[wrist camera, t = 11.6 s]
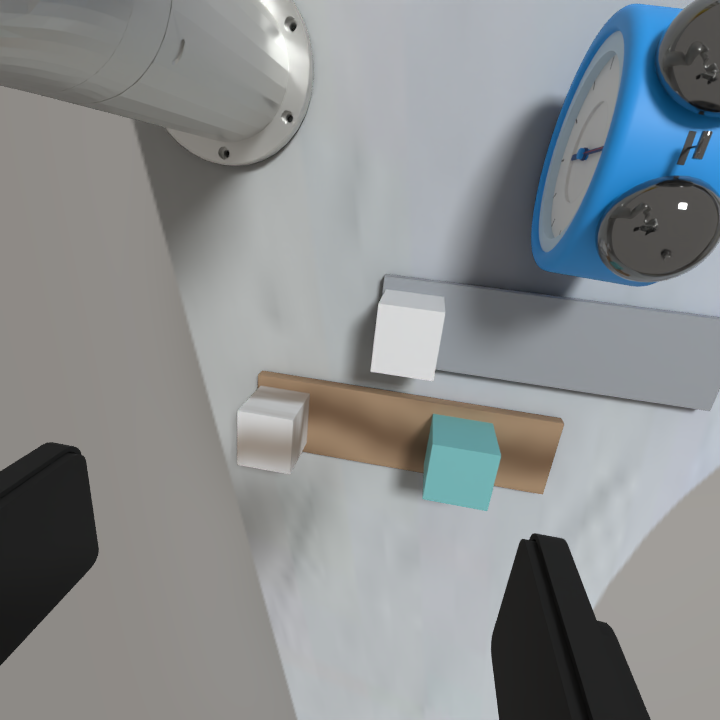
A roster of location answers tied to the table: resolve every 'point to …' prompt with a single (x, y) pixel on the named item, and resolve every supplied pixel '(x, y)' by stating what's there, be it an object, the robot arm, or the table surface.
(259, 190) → the table surface
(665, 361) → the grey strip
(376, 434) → the walnut strip
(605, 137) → the alarm clock
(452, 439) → the teal cube
